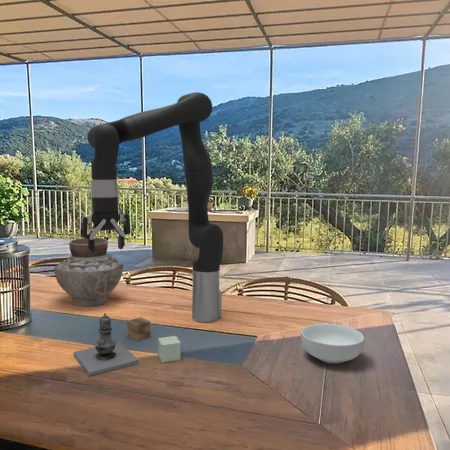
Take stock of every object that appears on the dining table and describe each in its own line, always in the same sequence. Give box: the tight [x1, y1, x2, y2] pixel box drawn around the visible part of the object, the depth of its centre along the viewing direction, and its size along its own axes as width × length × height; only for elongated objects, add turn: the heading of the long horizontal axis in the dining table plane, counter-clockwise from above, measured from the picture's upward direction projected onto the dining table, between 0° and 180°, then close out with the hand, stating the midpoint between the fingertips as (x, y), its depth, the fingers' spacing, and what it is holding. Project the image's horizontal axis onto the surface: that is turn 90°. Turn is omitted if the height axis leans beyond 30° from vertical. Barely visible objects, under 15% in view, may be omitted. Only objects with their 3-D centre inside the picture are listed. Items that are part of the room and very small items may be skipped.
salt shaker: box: [93, 312, 118, 360], centre depth 115 cm, size 6×6×12 cm
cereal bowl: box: [300, 323, 365, 364], centre depth 120 cm, size 17×17×7 cm
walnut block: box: [126, 316, 151, 342], centre depth 132 cm, size 5×5×5 cm
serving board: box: [73, 341, 140, 377], centre depth 116 cm, size 13×14×1 cm
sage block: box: [157, 335, 181, 363], centre depth 118 cm, size 5×5×5 cm
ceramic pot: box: [53, 237, 124, 308], centre depth 163 cm, size 25×25×24 cm
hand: (106, 250), depth 127 cm, fingers open, 8 cm apart
